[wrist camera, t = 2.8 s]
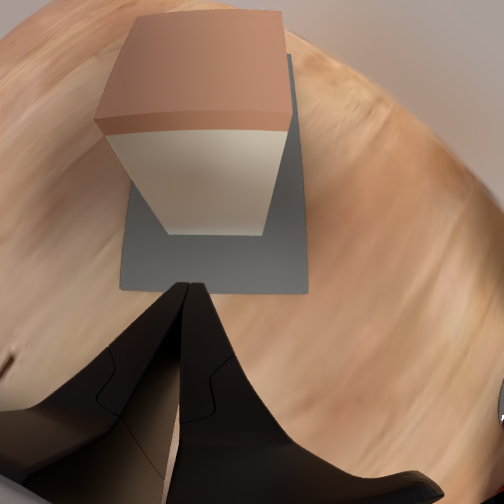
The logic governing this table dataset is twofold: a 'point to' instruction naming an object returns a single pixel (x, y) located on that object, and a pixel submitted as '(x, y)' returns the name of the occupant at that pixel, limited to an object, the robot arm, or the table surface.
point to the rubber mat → (226, 241)
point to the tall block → (201, 116)
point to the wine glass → (501, 407)
